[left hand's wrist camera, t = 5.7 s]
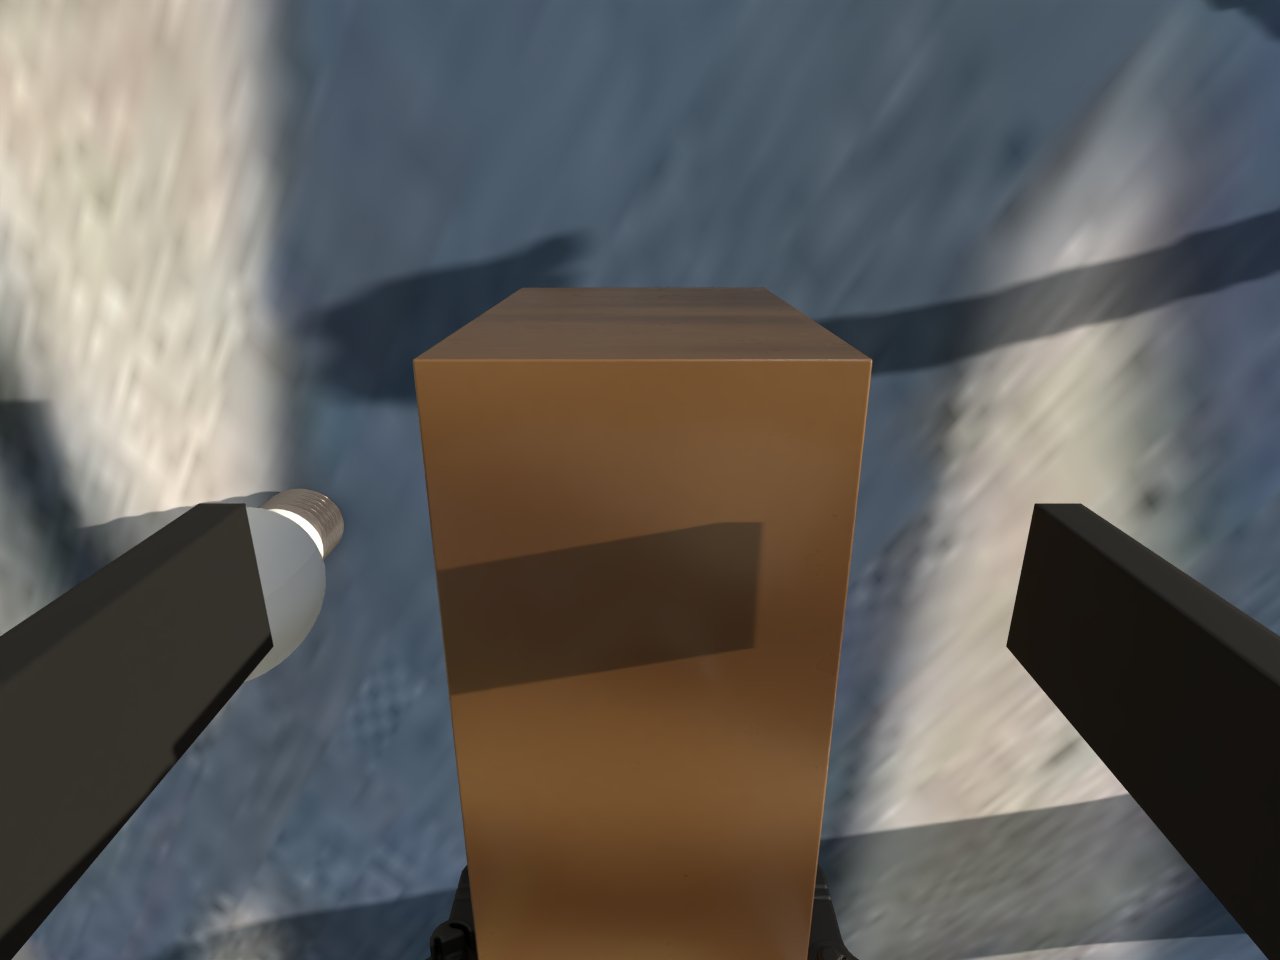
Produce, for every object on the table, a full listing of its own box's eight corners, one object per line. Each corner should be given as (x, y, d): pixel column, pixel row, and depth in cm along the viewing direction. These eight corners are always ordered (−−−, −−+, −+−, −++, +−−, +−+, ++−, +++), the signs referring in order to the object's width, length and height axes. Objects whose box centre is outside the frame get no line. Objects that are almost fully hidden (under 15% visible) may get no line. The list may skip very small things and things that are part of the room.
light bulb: (326, 440, 35) (192, 540, 24) (397, 560, 37) (301, 698, 26) (204, 492, 35) (25, 609, 25) (281, 605, 38) (144, 756, 27)
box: (521, 287, 24) (410, 358, 13) (765, 287, 24) (873, 358, 13) (550, 813, 31) (498, 1151, 20) (735, 814, 31) (786, 1153, 20)
